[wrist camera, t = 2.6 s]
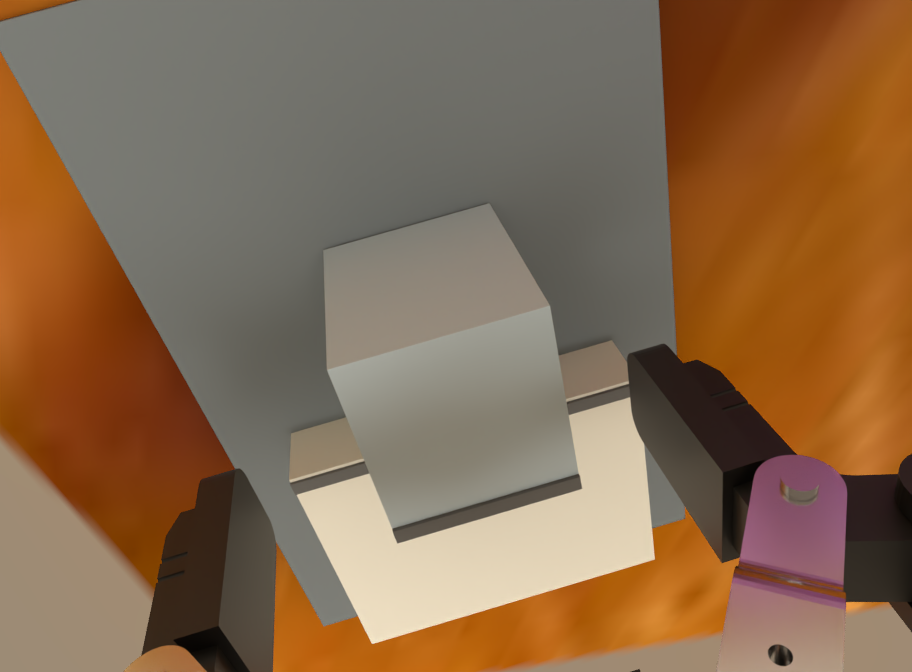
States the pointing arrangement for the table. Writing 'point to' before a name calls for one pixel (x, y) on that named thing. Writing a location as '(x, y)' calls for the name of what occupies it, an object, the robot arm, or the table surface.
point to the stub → (448, 372)
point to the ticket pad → (368, 214)
